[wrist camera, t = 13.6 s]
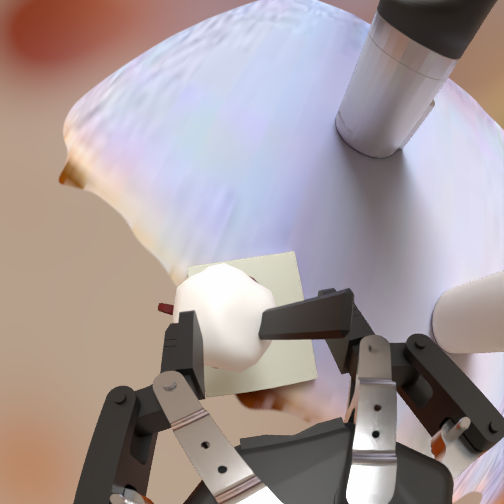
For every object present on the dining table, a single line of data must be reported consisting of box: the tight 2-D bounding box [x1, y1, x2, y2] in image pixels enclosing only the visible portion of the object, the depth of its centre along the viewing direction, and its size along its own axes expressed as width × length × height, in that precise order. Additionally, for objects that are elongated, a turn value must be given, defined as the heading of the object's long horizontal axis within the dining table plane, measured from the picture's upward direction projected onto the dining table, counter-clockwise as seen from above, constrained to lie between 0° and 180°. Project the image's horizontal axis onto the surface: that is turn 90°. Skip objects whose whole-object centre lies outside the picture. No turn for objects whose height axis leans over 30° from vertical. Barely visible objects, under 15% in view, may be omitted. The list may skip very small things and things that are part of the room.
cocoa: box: [158, 263, 354, 373], centre depth 15 cm, size 10×6×12 cm, turn 58°
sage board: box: [187, 251, 318, 397], centre depth 25 cm, size 10×12×1 cm
